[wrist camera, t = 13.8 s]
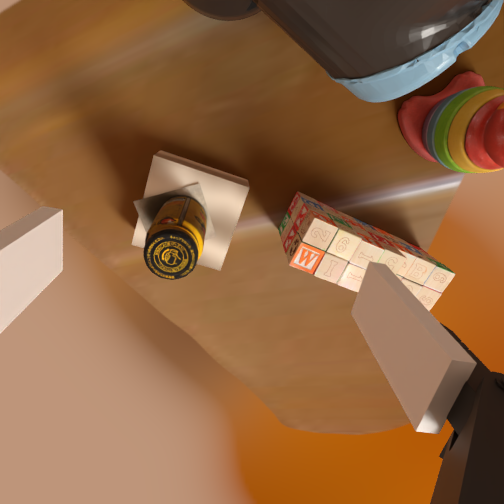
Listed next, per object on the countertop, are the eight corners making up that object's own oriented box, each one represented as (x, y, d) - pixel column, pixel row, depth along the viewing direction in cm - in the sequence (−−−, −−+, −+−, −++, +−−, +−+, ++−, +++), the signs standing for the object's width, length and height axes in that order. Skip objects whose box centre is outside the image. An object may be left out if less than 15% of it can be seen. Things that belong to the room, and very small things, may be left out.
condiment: (216, 236, 47) (214, 279, 36) (154, 252, 48) (133, 300, 37) (199, 182, 44) (191, 211, 33) (133, 200, 45) (103, 234, 34)
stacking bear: (475, 65, 45) (615, 46, 29) (490, 141, 49) (621, 164, 32) (393, 105, 46) (480, 109, 30) (413, 176, 50) (501, 215, 34)
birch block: (161, 149, 47) (153, 155, 43) (247, 179, 50) (249, 187, 45) (140, 231, 52) (131, 244, 47) (221, 255, 54) (220, 270, 49)
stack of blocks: (421, 247, 54) (471, 286, 43) (398, 281, 57) (440, 326, 45) (296, 190, 50) (314, 217, 39) (276, 229, 52) (288, 265, 41)
